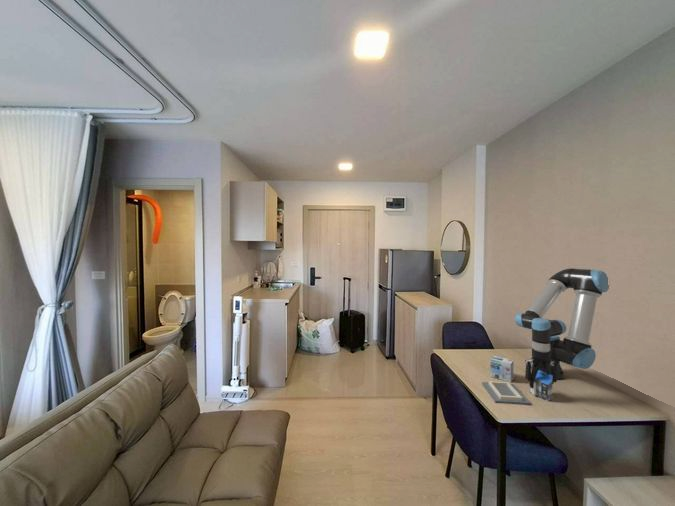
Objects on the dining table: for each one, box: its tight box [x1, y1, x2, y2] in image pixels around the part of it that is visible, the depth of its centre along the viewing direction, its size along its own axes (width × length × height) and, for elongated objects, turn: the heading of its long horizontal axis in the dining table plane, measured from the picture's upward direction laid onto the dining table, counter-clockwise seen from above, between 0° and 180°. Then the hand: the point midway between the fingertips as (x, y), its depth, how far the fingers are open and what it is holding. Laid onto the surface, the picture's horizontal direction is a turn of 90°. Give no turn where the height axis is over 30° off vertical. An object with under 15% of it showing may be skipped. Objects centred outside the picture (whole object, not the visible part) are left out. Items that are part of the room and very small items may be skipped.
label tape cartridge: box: [529, 370, 553, 402], centre depth 137 cm, size 9×4×12 cm, turn 20°
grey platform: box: [481, 380, 532, 406], centre depth 140 cm, size 16×18×2 cm
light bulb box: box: [490, 355, 514, 383], centre depth 157 cm, size 11×7×11 cm, turn 47°
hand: (540, 394), depth 137 cm, fingers closed on label tape cartridge, 6 cm apart
